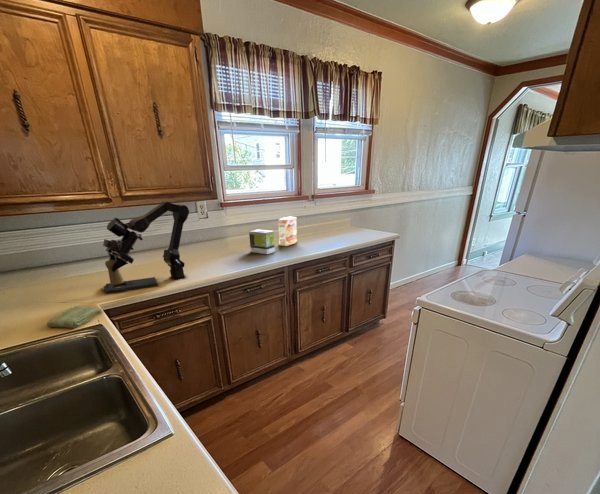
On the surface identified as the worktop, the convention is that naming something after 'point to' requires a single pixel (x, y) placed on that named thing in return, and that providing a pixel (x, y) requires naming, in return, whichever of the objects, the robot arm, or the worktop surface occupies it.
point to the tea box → (262, 241)
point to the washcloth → (73, 317)
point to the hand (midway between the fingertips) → (110, 270)
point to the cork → (113, 273)
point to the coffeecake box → (287, 231)
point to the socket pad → (131, 285)
